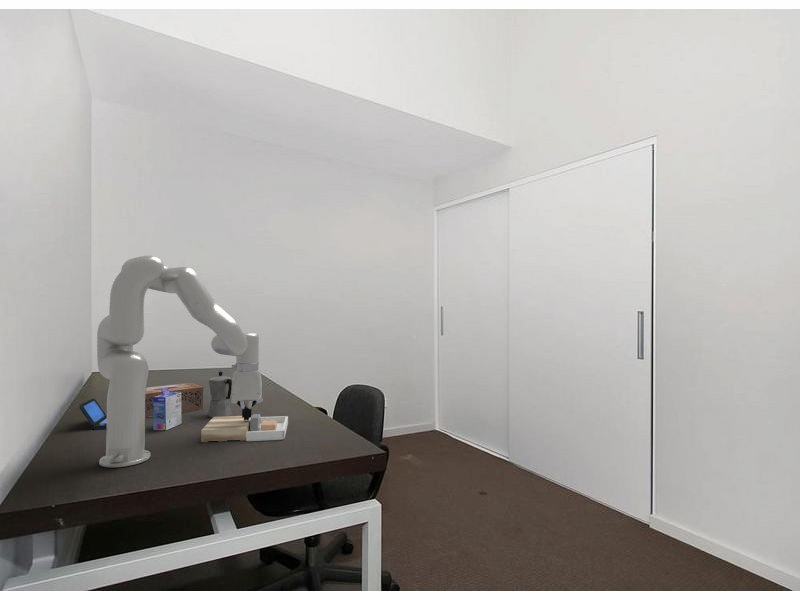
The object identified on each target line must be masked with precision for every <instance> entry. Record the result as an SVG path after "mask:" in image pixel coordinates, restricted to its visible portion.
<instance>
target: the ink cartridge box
mask: <svg viewBox="0 0 800 600" xmlns="http://www.w3.org/2000/svg"><path fill="white" fill-rule="evenodd" d="M165 389H166V390H167V391H165V392H164V391H163V390H165ZM161 391H162V393H163V394H161V395H158V396H155V397H153V417H152V419H153V420H152V422H153V425H152V427H153V428H152V429H153V431H164V430H165V431H168V430H170V429H172V428H174V427H177V426H179V425H181V424H182V413H181V392H169V390H168V388H167V387H165V388H161Z"/></svg>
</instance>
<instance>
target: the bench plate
mask: <svg viewBox="0 0 800 600" xmlns="http://www.w3.org/2000/svg"><path fill="white" fill-rule="evenodd" d="M251 417H252V415H251ZM251 417H250V419H249V420H244V418H242V415H230V416H226V417H213V418H211V419H210V420H209V421H208V422H207V424H205V425H204V427H203V428H201V430H200V431H201V432H200V433H201V434H200V443H209V442H208V441H218V442H228V441H227V440H240V441H246V432H249V431H251Z"/></svg>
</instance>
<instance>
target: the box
mask: <svg viewBox="0 0 800 600" xmlns="http://www.w3.org/2000/svg"><path fill="white" fill-rule="evenodd" d="M273 420H277V428H276V430H273V431H261V424H262V421H273ZM288 426H289V416H288V415H283V416H279V415H278V416H260V429H259V431H249V432H246V440H245V441H246V442H261V441H262V442H263V441H280V440H282V441H283V440H285V438H286V433H287V429H288Z"/></svg>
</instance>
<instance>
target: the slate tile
mask: <svg viewBox="0 0 800 600" xmlns="http://www.w3.org/2000/svg"><path fill="white" fill-rule="evenodd" d="M251 416H252V417H251V431H259V429H260V417H261V413H260V414H259V413H254V414H253V413H252V415H251Z"/></svg>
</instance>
